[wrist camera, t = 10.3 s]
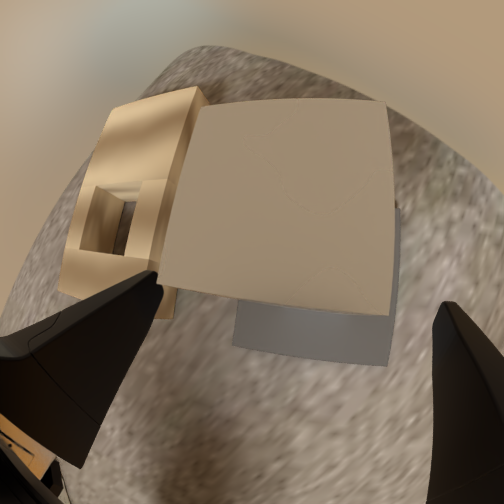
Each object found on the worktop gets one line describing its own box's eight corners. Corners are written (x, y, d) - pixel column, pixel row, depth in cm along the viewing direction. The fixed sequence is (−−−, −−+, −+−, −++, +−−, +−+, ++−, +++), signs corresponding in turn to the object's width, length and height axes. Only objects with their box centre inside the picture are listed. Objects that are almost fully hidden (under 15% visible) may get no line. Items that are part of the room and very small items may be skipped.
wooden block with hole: (172, 319, 20) (139, 317, 16) (89, 295, 23) (57, 290, 19) (216, 113, 23) (197, 85, 19) (134, 128, 26) (112, 108, 22)
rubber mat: (385, 364, 15) (387, 366, 14) (235, 344, 18) (231, 345, 17) (398, 211, 17) (400, 208, 16) (256, 202, 20) (254, 199, 19)
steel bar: (348, 314, 16) (388, 314, 4) (283, 307, 17) (156, 283, 5) (354, 249, 17) (385, 101, 4) (292, 244, 18) (200, 106, 6)
